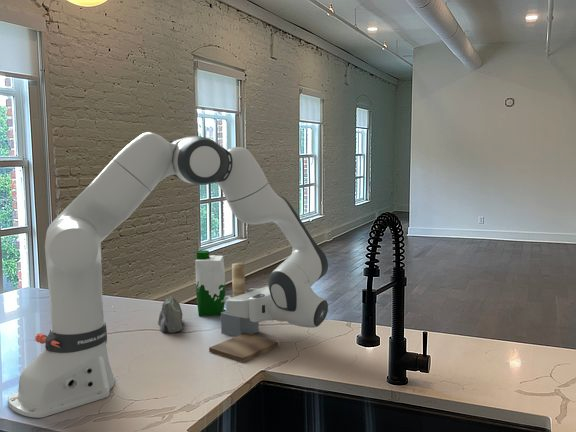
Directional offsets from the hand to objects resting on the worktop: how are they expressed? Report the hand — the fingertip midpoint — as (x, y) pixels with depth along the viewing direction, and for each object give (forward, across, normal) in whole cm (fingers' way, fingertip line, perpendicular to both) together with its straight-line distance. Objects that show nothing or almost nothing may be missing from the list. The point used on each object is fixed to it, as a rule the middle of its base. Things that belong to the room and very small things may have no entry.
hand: (237, 294), depth 164 cm
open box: (-1, 0, +11) cm, 11 cm away
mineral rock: (+19, +8, +11) cm, 23 cm away
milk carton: (+19, -8, +11) cm, 24 cm away
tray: (-11, +9, +11) cm, 18 cm away
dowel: (-1, 0, +11) cm, 11 cm away
